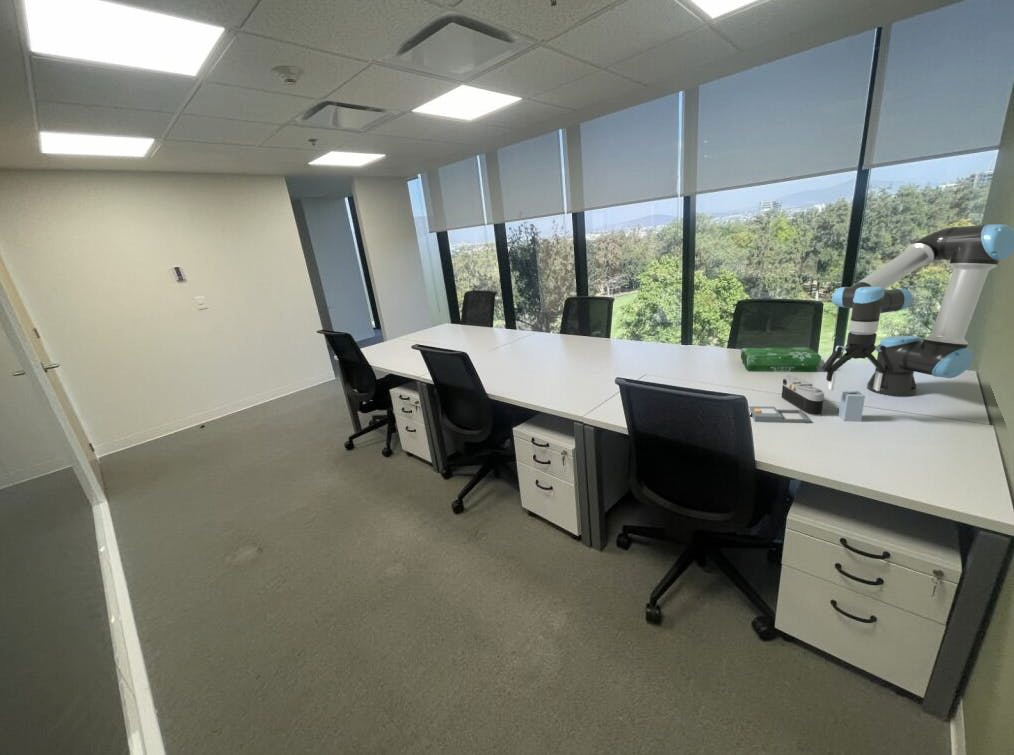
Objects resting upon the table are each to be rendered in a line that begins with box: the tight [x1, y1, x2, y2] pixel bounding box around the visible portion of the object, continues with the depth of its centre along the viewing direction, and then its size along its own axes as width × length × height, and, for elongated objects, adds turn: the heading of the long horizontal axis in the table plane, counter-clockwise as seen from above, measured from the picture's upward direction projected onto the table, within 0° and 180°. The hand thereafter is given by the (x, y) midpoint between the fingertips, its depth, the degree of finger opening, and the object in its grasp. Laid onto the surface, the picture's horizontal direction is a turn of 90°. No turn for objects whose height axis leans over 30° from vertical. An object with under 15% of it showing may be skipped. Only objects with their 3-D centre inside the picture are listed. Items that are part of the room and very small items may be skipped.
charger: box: [838, 390, 866, 422], centre depth 149 cm, size 5×5×10 cm
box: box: [740, 346, 822, 373], centre depth 208 cm, size 32×18×10 cm, turn 70°
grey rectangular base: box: [748, 405, 811, 424], centre depth 158 cm, size 21×10×3 cm, turn 72°
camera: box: [781, 374, 825, 417], centre depth 164 cm, size 22×10×10 cm, turn 175°
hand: (853, 389), depth 147 cm, fingers open, 13 cm apart
